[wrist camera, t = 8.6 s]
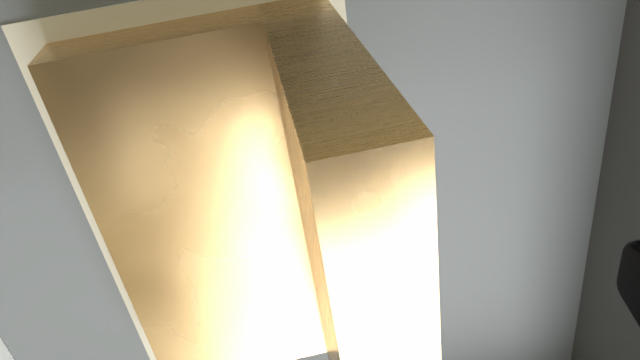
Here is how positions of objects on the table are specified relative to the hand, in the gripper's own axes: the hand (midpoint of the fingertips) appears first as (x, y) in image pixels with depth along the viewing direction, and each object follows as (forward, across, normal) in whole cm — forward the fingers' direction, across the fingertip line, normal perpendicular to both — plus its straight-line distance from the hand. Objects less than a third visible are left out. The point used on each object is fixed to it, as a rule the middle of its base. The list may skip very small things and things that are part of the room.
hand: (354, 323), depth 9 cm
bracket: (+4, +2, 0) cm, 5 cm away
